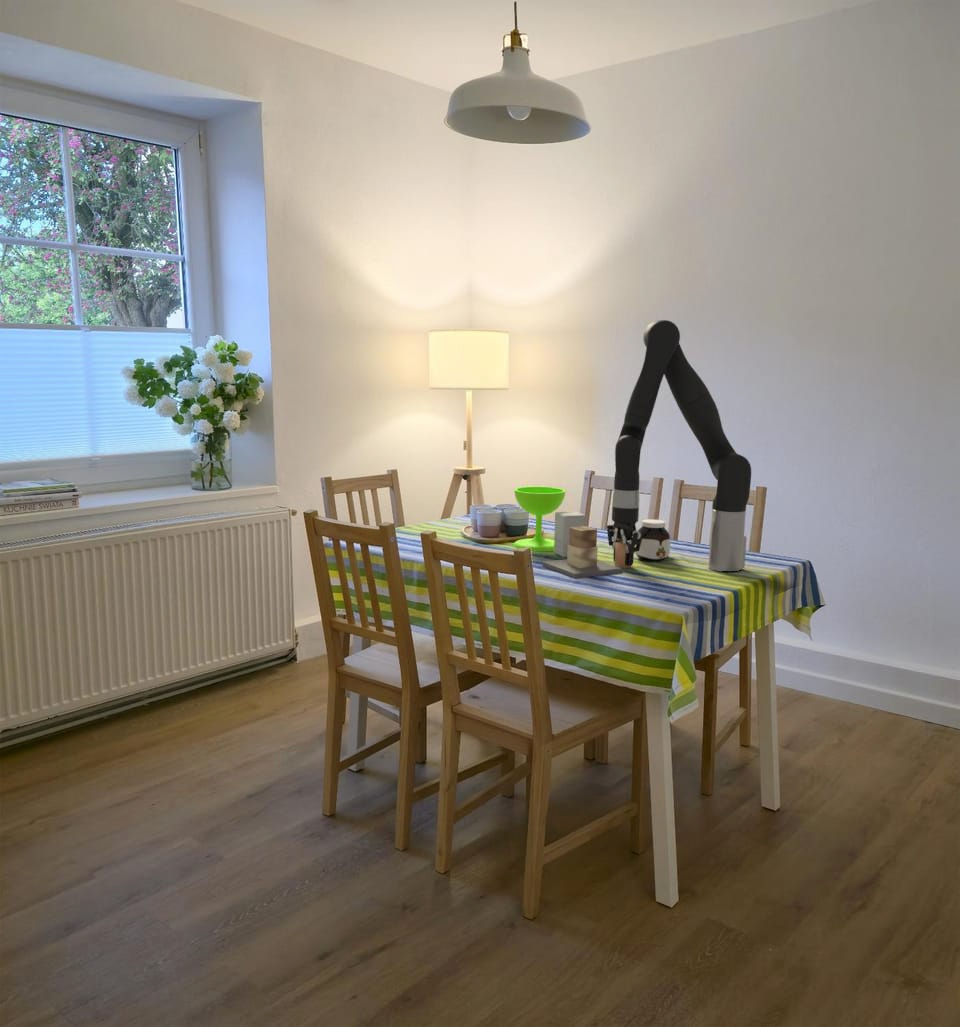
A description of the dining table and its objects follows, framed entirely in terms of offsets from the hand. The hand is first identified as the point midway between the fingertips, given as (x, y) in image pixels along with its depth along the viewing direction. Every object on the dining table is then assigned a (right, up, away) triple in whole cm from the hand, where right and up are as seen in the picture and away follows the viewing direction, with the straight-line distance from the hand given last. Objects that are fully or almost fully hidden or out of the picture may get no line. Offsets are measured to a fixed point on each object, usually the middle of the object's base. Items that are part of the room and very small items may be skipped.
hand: (622, 563), depth 255 cm
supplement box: (-14, +2, +15) cm, 21 cm away
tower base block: (-12, 0, -5) cm, 13 cm away
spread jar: (+11, +1, +12) cm, 16 cm away
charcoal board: (-12, -1, -4) cm, 13 cm away
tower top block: (-12, +5, -5) cm, 14 cm away
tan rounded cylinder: (0, -1, 0) cm, 1 cm away
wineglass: (-23, +4, +26) cm, 35 cm away
